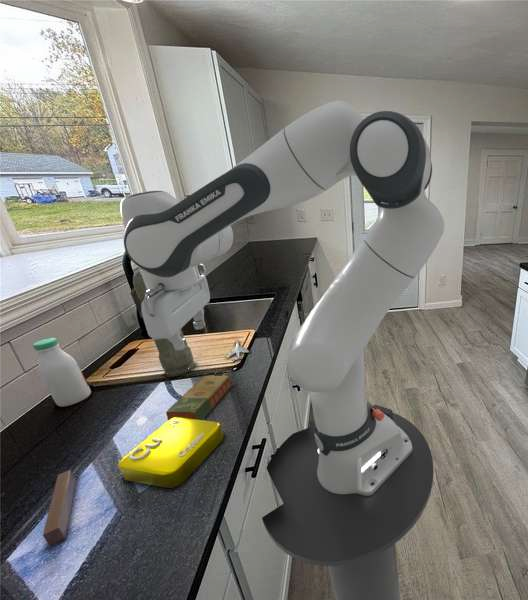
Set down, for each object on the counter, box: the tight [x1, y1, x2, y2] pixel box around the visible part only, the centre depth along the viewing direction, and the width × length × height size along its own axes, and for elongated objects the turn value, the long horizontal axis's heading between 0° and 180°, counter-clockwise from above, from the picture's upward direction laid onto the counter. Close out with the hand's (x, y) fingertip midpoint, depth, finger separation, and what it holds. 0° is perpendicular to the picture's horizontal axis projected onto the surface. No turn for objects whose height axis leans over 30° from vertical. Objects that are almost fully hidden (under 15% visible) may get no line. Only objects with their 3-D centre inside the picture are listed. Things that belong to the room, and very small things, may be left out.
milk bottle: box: [32, 337, 92, 408], centre depth 92 cm, size 8×8×20 cm
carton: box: [165, 375, 233, 421], centre depth 89 cm, size 8×16×4 cm, turn 177°
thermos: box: [130, 271, 196, 377], centre depth 102 cm, size 9×12×35 cm
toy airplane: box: [226, 339, 250, 364], centre depth 116 cm, size 8×21×2 cm, turn 27°
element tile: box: [117, 417, 224, 489], centre depth 72 cm, size 15×15×5 cm
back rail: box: [42, 469, 77, 547], centre depth 62 cm, size 2×16×3 cm, turn 39°
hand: (191, 337), depth 68 cm, fingers open, 8 cm apart
